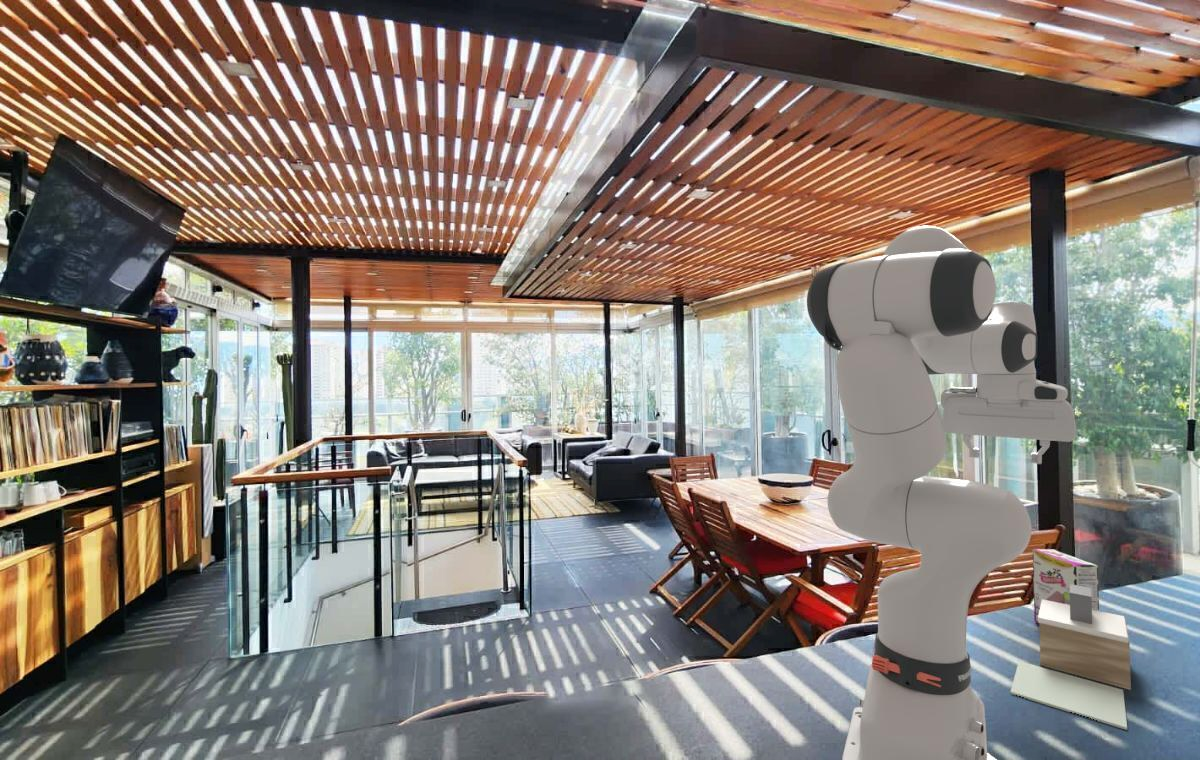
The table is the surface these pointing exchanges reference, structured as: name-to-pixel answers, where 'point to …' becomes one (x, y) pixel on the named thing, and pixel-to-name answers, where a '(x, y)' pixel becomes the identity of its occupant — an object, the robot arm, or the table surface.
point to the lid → (1083, 616)
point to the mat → (1070, 694)
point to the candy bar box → (1061, 577)
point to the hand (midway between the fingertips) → (1004, 460)
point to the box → (1085, 655)
